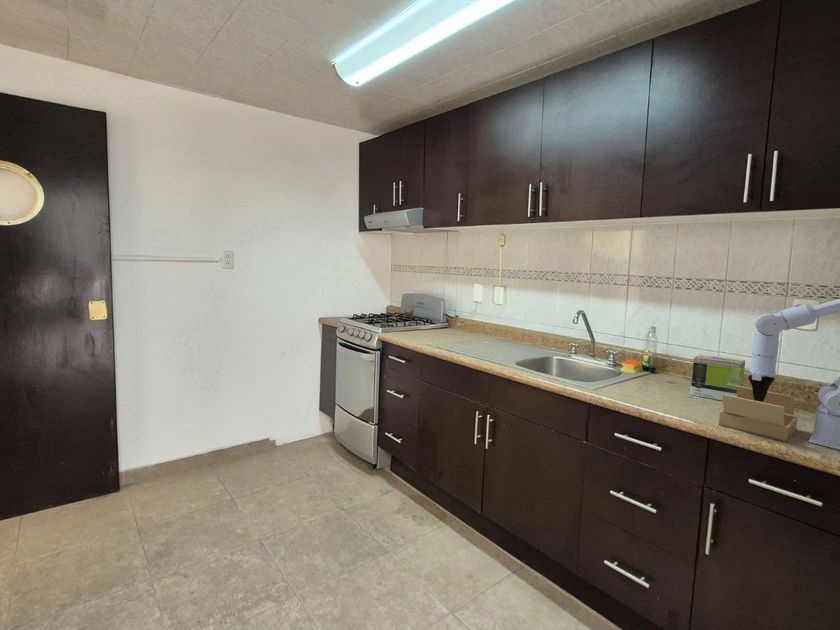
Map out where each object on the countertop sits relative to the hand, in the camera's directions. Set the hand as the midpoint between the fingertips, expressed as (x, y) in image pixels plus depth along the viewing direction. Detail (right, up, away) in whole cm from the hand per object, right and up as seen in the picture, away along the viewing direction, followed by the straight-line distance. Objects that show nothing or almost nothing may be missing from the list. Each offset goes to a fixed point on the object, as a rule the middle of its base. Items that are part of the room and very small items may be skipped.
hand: (758, 400), depth 129 cm
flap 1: (-5, -2, -4) cm, 6 cm away
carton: (+2, -9, +3) cm, 9 cm away
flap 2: (+6, -1, +5) cm, 8 cm away
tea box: (+10, -6, +34) cm, 36 cm away
